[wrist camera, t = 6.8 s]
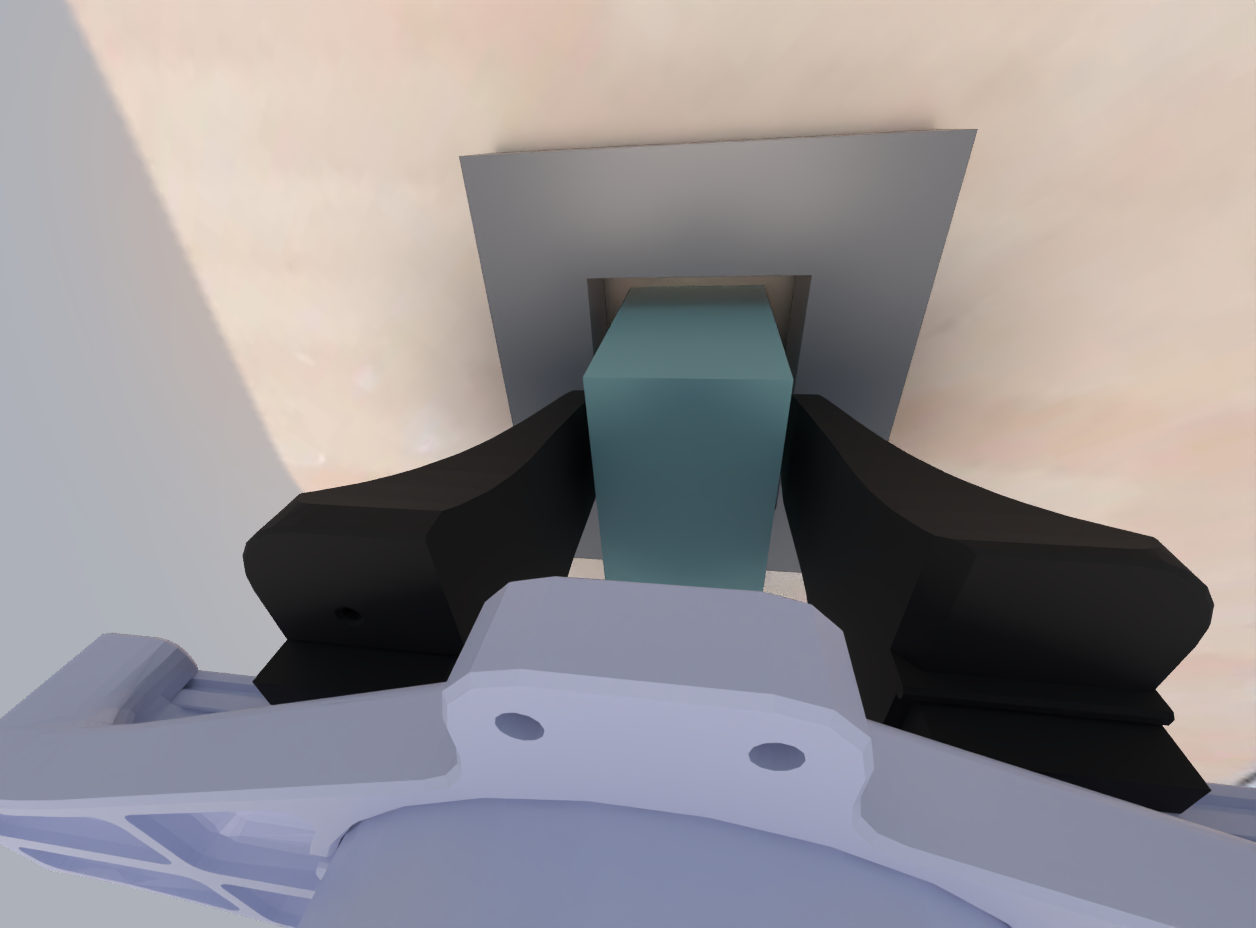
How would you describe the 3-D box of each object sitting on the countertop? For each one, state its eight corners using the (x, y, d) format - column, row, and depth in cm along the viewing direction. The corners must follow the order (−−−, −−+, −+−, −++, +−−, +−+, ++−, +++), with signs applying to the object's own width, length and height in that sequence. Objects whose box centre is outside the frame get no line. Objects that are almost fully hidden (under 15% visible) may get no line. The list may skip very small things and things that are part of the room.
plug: (747, 447, 16) (762, 591, 11) (638, 443, 16) (605, 580, 11) (763, 284, 13) (793, 380, 8) (631, 287, 13) (582, 377, 8)
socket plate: (835, 532, 17) (849, 575, 15) (554, 517, 18) (539, 555, 17) (936, 129, 11) (977, 128, 9) (493, 152, 12) (459, 156, 10)
